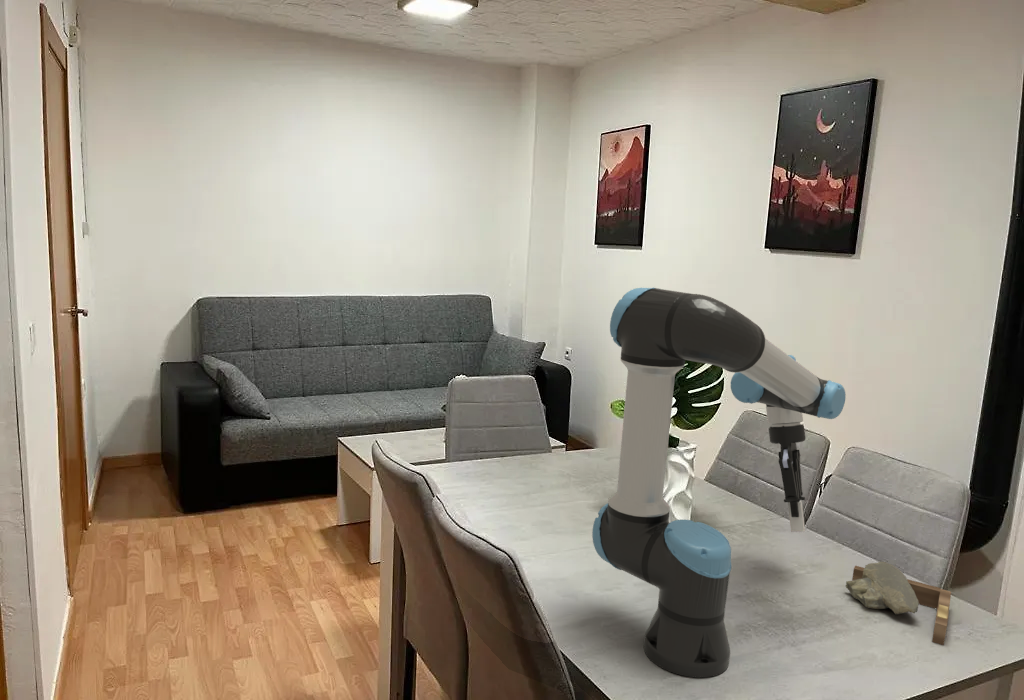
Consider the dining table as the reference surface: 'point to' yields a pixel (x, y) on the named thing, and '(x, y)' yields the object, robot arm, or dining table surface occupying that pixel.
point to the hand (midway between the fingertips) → (798, 530)
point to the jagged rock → (884, 589)
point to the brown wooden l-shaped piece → (927, 603)
